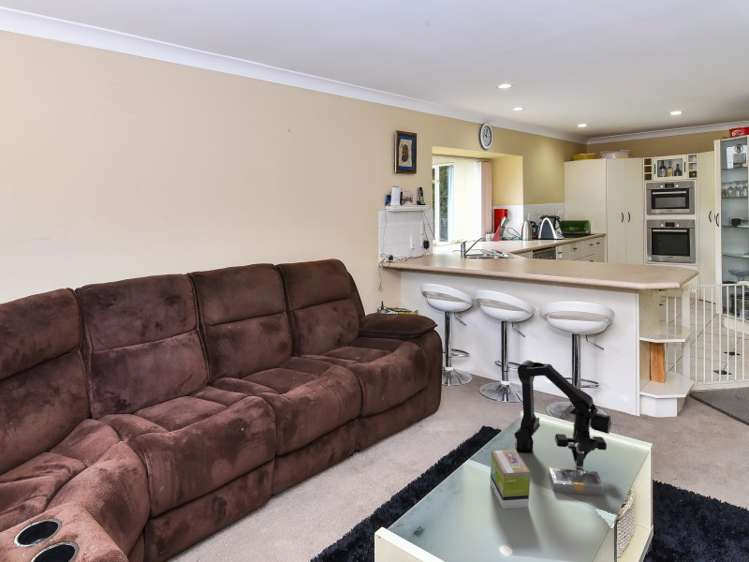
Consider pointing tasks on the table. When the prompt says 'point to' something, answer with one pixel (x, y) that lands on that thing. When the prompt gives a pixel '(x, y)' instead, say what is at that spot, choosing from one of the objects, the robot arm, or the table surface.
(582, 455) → the panel
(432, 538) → the table surface
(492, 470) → the tea box
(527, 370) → the robot arm
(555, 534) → the table surface
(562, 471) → the rack
